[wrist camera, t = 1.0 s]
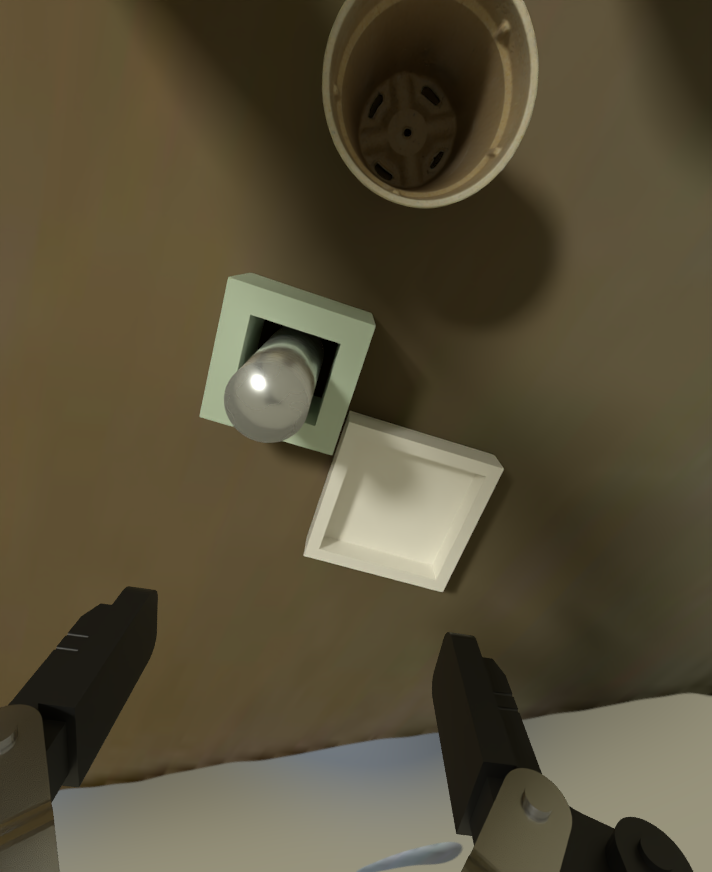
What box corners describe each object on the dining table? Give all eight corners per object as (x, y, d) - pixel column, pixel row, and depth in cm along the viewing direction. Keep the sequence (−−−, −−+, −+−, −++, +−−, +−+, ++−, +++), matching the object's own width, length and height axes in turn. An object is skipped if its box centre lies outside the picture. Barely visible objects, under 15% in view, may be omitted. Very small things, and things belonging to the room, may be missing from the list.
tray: (306, 537, 38) (303, 555, 36) (349, 410, 34) (349, 421, 32) (437, 572, 40) (442, 592, 38) (494, 454, 36) (504, 468, 33)
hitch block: (224, 389, 34) (199, 416, 28) (251, 272, 30) (228, 276, 25) (335, 423, 35) (332, 455, 29) (371, 313, 32) (375, 326, 26)
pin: (262, 370, 33) (216, 429, 22) (276, 316, 32) (233, 351, 20) (315, 386, 33) (296, 452, 22) (330, 334, 32) (318, 377, 21)
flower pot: (505, 59, 26) (573, -26, 18) (460, 234, 30) (500, 226, 22) (346, 19, 25) (343, -88, 17) (319, 203, 29) (306, 184, 21)
